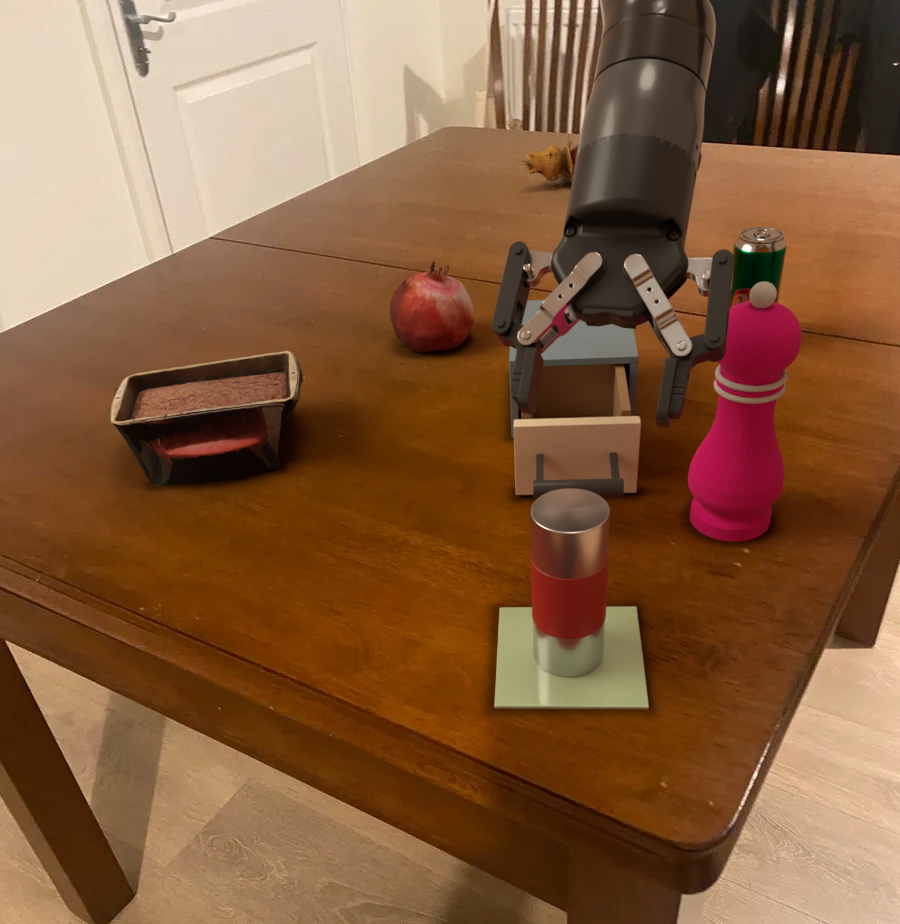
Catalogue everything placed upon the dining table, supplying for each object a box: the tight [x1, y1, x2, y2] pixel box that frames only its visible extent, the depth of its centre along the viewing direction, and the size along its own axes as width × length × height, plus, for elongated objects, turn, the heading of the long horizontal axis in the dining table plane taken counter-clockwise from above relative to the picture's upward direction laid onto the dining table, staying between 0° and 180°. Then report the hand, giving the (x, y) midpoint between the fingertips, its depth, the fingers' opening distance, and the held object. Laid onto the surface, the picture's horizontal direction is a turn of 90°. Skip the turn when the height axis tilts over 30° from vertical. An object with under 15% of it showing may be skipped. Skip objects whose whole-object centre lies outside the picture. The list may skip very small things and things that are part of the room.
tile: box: [493, 605, 650, 710], centre depth 64 cm, size 10×10×1 cm
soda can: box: [730, 226, 788, 308], centre depth 95 cm, size 5×5×12 cm
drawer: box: [513, 364, 642, 499], centre depth 79 cm, size 18×10×7 cm, turn 176°
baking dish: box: [108, 350, 304, 487], centre depth 87 cm, size 14×18×10 cm
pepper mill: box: [687, 281, 803, 542], centre depth 68 cm, size 7×7×20 cm
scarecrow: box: [519, 133, 579, 188], centre depth 144 cm, size 17×16×8 cm
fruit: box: [389, 259, 476, 354], centre depth 101 cm, size 9×10×10 cm
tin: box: [529, 488, 611, 677], centre depth 60 cm, size 5×5×12 cm
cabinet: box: [508, 299, 640, 439], centre depth 89 cm, size 13×11×8 cm
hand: (592, 417), depth 56 cm, fingers open, 8 cm apart
